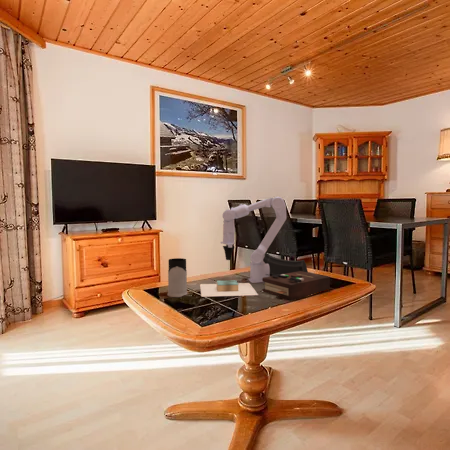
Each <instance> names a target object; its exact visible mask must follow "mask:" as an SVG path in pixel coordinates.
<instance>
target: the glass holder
mask: <svg viewBox="0 0 450 450" xmlns="http://www.w3.org/2000/svg"><path fill="white" fill-rule="evenodd" d="M167 271H168V272H167V278H168V279H167V280H168V281H167V282H168V283H167V285H168V287H167V289H168V290H167V296H168V297H170V298H182V297H183V296H187V295H188V287H187V286H188V285H187V283H188V281H187V279H188V278H187V275H188V271H187V259H186V258H180V257H178V258H177V257H176V258H175V257H174V258H169V259H168V270H167Z"/></svg>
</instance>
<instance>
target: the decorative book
mask: <svg viewBox="0 0 450 450" xmlns="http://www.w3.org/2000/svg"><path fill="white" fill-rule="evenodd" d="M266 275H268V274H266ZM261 283H264V284H262V285H263V286H264V288H262V292H265V293H268V294H271V295H274V296H277V297H278V298H281V299H284V300H289V301H295V299H296V300H299V298H300V299H303V298H302V297H304V298H306V297H305V296H308V295H311V294H314V293H317V292H320V291H324V290H326V289H329V288H331V277H330V276H327V275H322V274H318V273H317V274H316V273H312V272H303V271H298V272H292V273H287V274H281V275H279V274H277V275H274V274H271V275H270V277H264V278H262V282H261ZM308 297H309V296H308Z"/></svg>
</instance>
